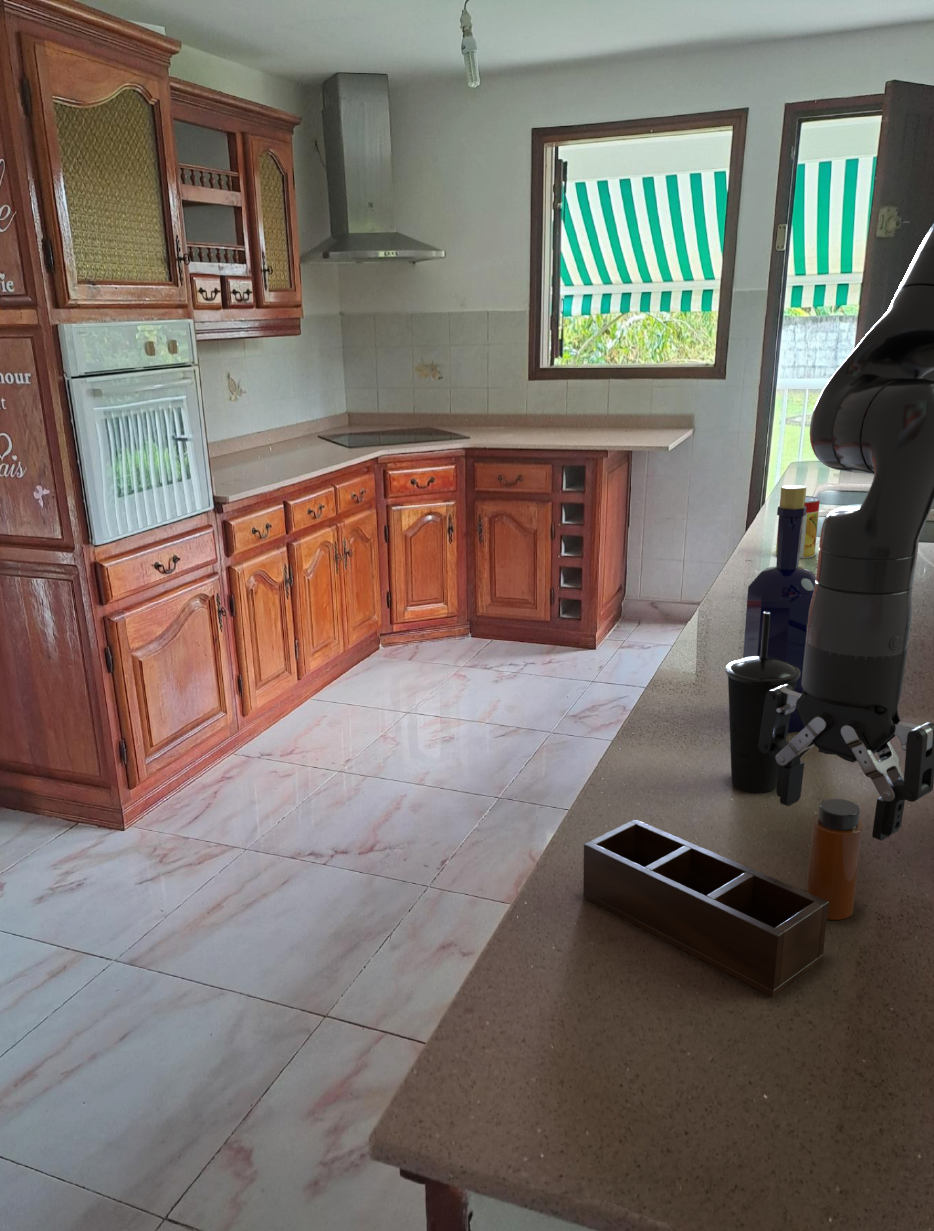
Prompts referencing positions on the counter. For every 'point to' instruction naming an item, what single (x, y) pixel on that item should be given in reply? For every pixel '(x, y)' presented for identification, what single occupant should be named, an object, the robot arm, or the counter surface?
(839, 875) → the spice bottle
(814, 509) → the canned food
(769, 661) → the drinking cup
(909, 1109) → the counter surface
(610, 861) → the holder
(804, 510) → the bottle
